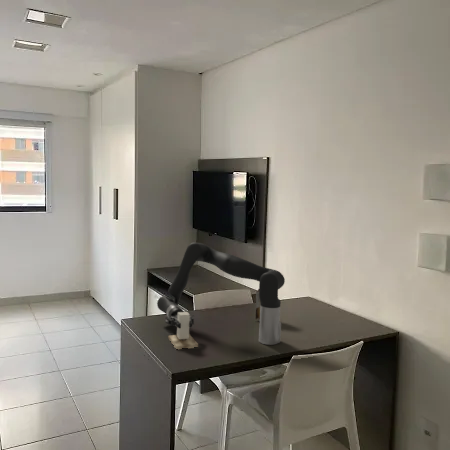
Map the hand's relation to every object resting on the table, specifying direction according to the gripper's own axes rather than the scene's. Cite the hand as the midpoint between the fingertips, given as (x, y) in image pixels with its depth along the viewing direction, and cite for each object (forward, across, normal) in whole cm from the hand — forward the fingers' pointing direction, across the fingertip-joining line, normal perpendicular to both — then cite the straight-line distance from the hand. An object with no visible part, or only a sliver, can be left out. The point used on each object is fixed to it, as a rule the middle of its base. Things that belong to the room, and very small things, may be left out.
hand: (185, 325), depth 210 cm
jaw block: (-4, 0, +6) cm, 7 cm away
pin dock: (-3, 0, +9) cm, 10 cm away
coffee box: (-25, +51, +10) cm, 58 cm away
